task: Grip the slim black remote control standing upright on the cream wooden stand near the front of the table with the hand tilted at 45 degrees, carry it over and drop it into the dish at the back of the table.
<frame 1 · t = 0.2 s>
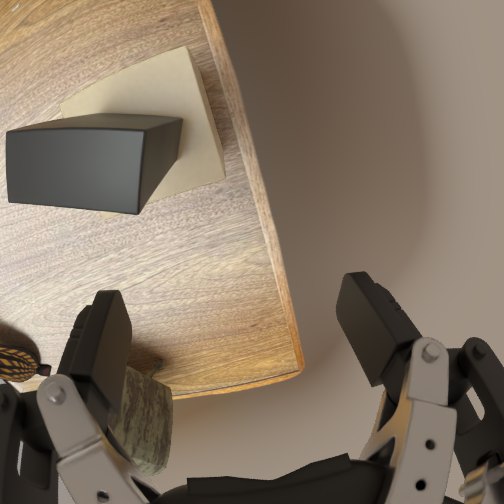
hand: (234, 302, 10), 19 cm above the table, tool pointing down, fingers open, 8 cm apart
stand: (169, 123, 23), on the table
decorative fish sculpture: (14, 347, 35), on the table
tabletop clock: (127, 364, 38), on the table
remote: (135, 135, 13), point 11 cm above the table, touching stand
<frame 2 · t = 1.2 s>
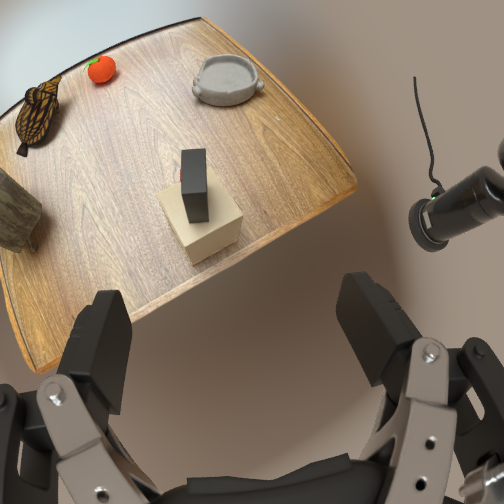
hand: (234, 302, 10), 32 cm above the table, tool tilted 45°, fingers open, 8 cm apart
stand: (202, 231, 44), on the table
clementine: (103, 80, 50), on the table
decorative fish sculpture: (42, 125, 45), on the table
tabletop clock: (29, 223, 40), on the table
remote: (198, 203, 33), point 11 cm above the table, touching stand
dish: (226, 87, 52), on the table
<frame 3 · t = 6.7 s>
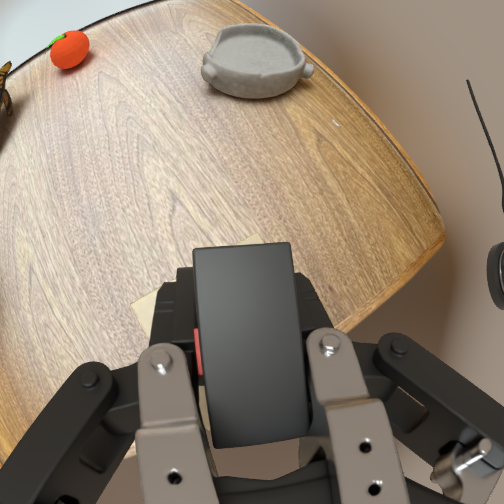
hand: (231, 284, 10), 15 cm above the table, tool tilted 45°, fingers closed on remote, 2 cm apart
stand: (226, 328, 24), on the table
clementine: (73, 65, 31), on the table
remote: (233, 334, 14), point 11 cm above the table, touching gripper, stand
dish: (253, 72, 33), on the table
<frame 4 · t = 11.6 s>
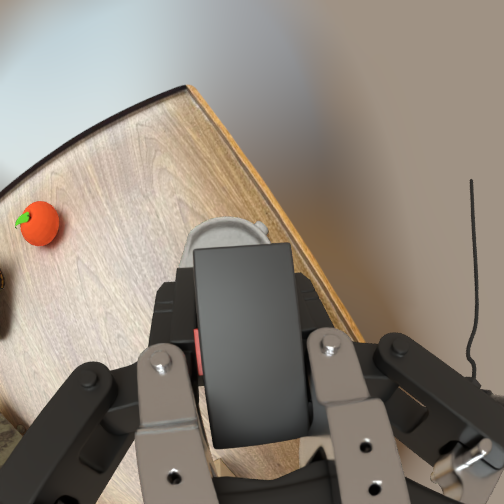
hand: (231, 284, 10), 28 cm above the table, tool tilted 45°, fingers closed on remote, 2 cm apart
stand: (212, 484, 30), on the table
clementine: (48, 231, 37), on the table
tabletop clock: (21, 434, 27), on the table
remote: (233, 335, 14), point 24 cm above the table, touching gripper
dish: (228, 275, 39), on the table
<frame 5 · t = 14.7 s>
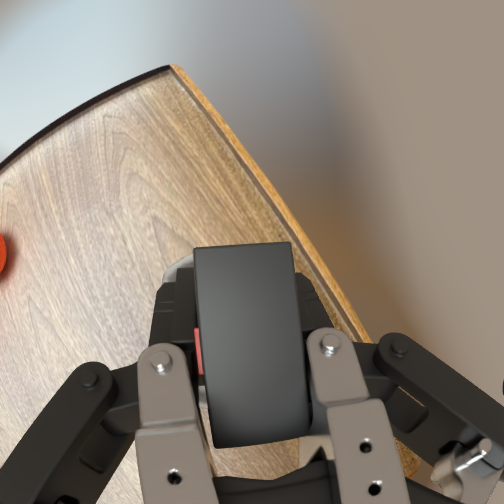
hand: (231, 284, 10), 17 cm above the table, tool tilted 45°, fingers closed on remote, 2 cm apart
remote: (234, 334, 14), point 13 cm above the table, touching gripper
dish: (225, 327, 26), on the table
when the fingers open (9 cm above the table, at t = 16.7 s): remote stays where it is, resting on dish.
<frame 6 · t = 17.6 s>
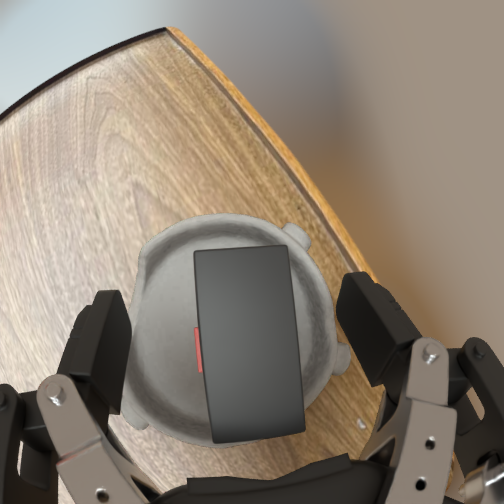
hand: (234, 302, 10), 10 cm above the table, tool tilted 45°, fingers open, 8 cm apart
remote: (232, 333, 14), point 5 cm above the table, touching dish
dish: (227, 330, 19), on the table, touching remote
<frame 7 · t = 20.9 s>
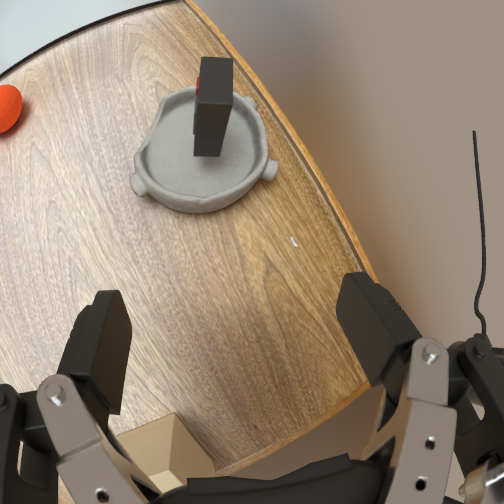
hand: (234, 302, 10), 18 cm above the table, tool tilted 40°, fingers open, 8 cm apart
stand: (164, 451, 24), on the table
clementine: (9, 122, 24), on the table
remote: (207, 134, 24), point 5 cm above the table, touching dish
dish: (203, 158, 29), on the table, touching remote
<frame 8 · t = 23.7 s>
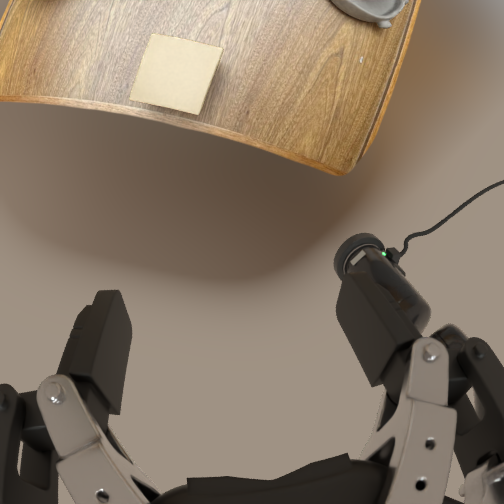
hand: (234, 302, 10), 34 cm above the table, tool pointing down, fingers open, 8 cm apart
stand: (183, 79, 33), on the table
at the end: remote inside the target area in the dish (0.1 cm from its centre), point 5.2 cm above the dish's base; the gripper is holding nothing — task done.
